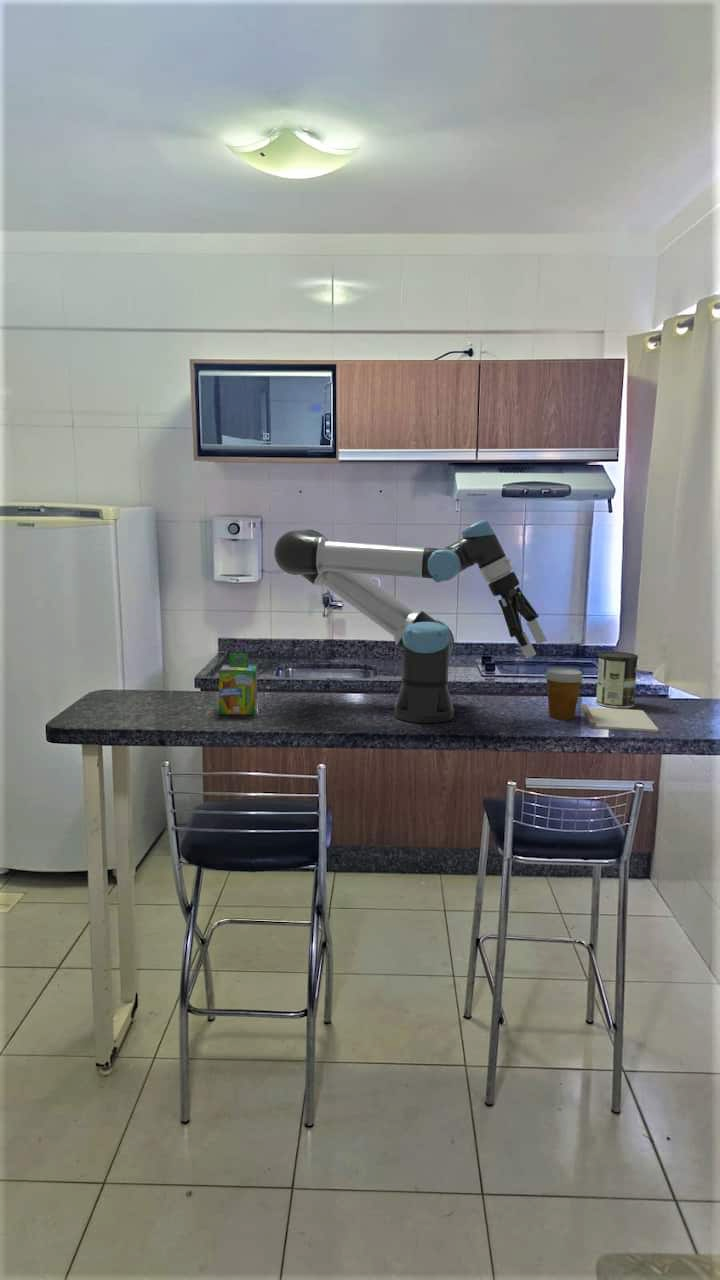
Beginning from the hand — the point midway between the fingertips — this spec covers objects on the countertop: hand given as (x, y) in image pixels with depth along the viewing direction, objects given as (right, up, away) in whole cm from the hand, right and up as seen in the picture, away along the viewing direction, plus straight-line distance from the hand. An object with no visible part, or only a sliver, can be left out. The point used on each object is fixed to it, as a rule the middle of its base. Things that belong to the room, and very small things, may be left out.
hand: (537, 649), depth 209 cm
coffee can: (+24, -16, +12) cm, 31 cm away
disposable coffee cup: (+6, -18, -3) cm, 19 cm away
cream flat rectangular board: (+20, -18, -5) cm, 27 cm away
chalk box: (-77, -16, -4) cm, 79 cm away
